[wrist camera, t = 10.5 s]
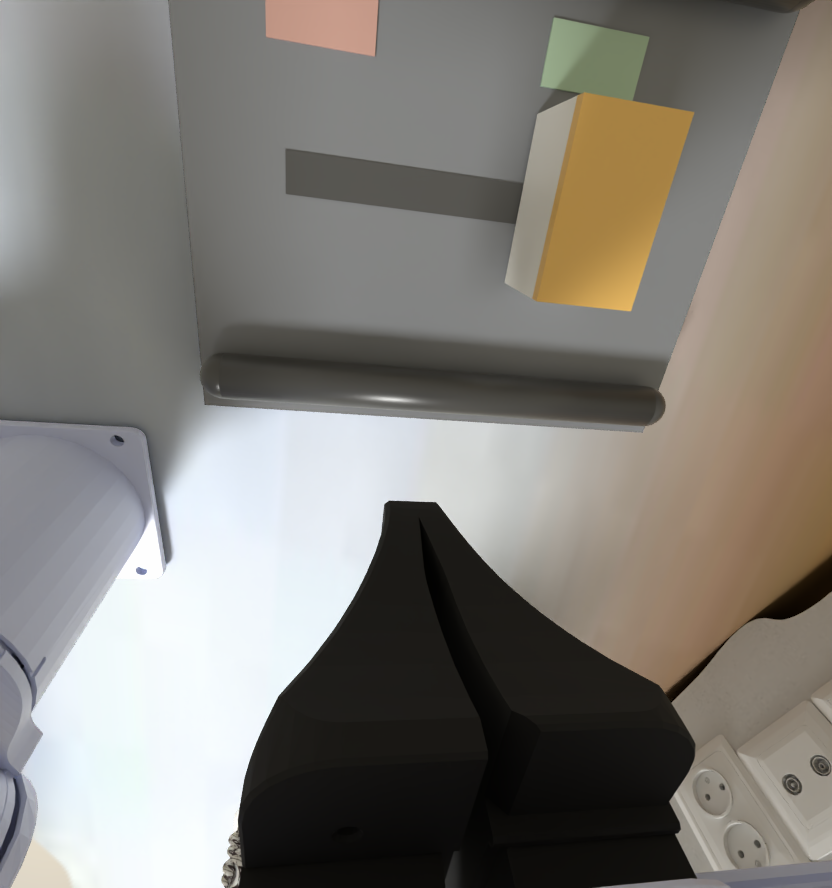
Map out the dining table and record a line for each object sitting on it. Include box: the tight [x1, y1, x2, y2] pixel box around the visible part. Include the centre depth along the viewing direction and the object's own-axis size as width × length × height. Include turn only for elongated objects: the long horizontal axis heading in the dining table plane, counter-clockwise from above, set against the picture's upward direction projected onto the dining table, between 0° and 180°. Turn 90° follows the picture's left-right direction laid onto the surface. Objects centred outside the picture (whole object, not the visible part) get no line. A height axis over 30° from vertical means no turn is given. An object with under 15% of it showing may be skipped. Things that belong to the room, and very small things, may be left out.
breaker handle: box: [505, 92, 694, 311], centre depth 14 cm, size 3×5×3 cm, turn 173°
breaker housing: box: [168, 0, 814, 433], centre depth 16 cm, size 18×16×4 cm
